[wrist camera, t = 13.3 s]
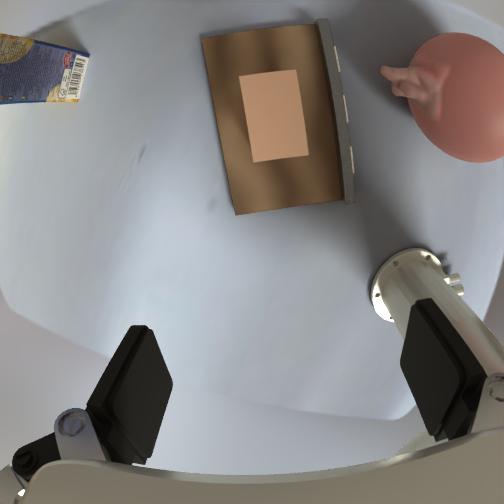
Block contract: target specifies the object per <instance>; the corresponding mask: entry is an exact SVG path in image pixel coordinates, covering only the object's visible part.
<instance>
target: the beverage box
mask: <svg viewBox="0 0 504 504" xmlns="http://www.w3.org/2000/svg"><path fill="white" fill-rule="evenodd" d="M89 57H90V54H87V53H83V52H80V51H76V50H73V49H69V48H65V47H62V46H58V45H54V44H50V43H46V42H41V41H37V40H32V39H28V38H23V37H18V36H12V35H6V34H0V105H1V104H14V103H32V102H79V97H80V92H81V88H82V84H83V80H84V76H85V72H86V68H87V64H88V60H89Z"/></svg>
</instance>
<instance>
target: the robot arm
mask: <svg viewBox="0 0 504 504" xmlns="http://www.w3.org/2000/svg"><path fill="white" fill-rule="evenodd" d="M459 281H460V276H459V274H458V273H455V274H451V275H449V276H447V275H446V274H445V273H444V272H443V270H442V266H441V264H440V261H439V260H438V259H437V257H436V256H435V255H433V254H432V253H431V252H429V251H428V250H425V249H422V248H410V249H406V250H403V251H400V252H398V253H397V254H395V255H393V256H392V257H391V258H389V259H388V260H387V261H386V262H385V263H384V264H383V265H382V266H381V268H380V269H379V271H378V272H377V274H376V276H375V278H374V280H373V283H372V286H371V302H372V304H373V307H374V309H375V310H376V312H377V313H378V314H379V316H381V317H382V318H384V319H385V320H388V321H392V322H394V323H395V325H396V326H397V328H398V330H399V332H400V333H401V335H402V337H403V339H404V345H403V350H402V354H401V358H400V366H401V369H402V371H403V374H404V376H405V378H406V380H407V383H408V385H409V387H410V390H411V392H412V394H413V397H414V399H415V401H416V404H417V406H418V408H419V411H420V414H421V416H422V418H423V421H424V423H425V426H426V429H424V430H423V431H422V432H420V433H419V434H418V435H416V436H415V437H414V438H412V439H411V440H410V441H408V442H407V443H406V444H405V445H404V446H403V447H402V448H401V449H400V450H399V452H398V453H397V455H396V457H392V458H388V459H383V460H379V461H375V462H370V463H365V464H360V465H354V466H348V467H342V468H335V469H328V470H321V471H313V472H303V473H291V474H274V475H215V474H199V473H186V472H176V471H168V470H160V469H152V468H145V467H138V466H133V465H132V463H137V464H143V465H145V463H146V460H147V458H150V457H151V456H152V453H153V449H154V446H155V442H156V439H157V436H158V433H159V430H160V426H161V423H162V420H163V416H164V413H165V410H166V406H167V404H168V400H169V397H170V394H171V391H172V387H173V382H172V378H171V376H170V373H169V371H168V369H167V366H166V364H165V361H164V359H163V356H162V354H161V351H160V349H159V346H158V343H157V341H156V338H155V335H154V333H153V331H152V329H149V328H148V327H147V326H146V325H132V326H131V327H130V328H129V330H128V331H127V333H126V335H125V336H124V338H123V340H122V341H121V343H120V345H119V347H118V348H117V350H116V352H115V353H114V355H113V357H112V359H111V360H110V362H109V364H108V366H107V367H106V369H105V371H104V373H103V375H102V377H101V378H100V380H99V382H98V384H97V386H96V388H95V389H94V391H93V393H92V395H91V397H90V398H89V400H88V402H87V404H86V405H87V407H86V409H85V410H83V409H80V408H72V409H68V410H66V411H64V412H63V413H62V414H60V415H59V416H58V418H57V419H56V421H55V424H54V432H53V433H51V434H49V435H47V436H45V437H43V438H41V439H39V440H36V441H34V442H32V443H29V444H27V445H25V446H23V447H21V448H19V449H18V450H17V451H16V453H15V454H14V456H13V460H12V467H11V466H10V465H7V466H6V467H5V468H3V469H2V470H1V471H0V504H504V346H503V345H502V343H501V342H500V341H499V340H498V339H497V338H496V337H495V335H494V334H493V333H492V332H491V331H490V330H489V329H488V327H487V326H486V325H485V324H484V323H483V322H482V321H481V320H480V318H479V317H478V316H477V315H476V314H475V313H474V311H473V310H472V309H471V308H470V307H469V306H468V305H467V304H466V303H465V301H464V300H463V299H462V298H461V297H460V296H462V295H463V293H464V288H463V286H462V284H458V285H454V286H450V285H449V284H450V283H456V282H459Z"/></svg>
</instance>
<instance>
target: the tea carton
mask: <svg viewBox="0 0 504 504" xmlns="http://www.w3.org/2000/svg"><path fill="white" fill-rule="evenodd" d="M239 79H240V85H241V91H242V97H243V103H244V109H245V115H246V120H247V126H248V132H249V138H250V145H251V151H252V157H253V162H260V161H267V160H274V159H282V158H290V157H298V156H306V155H309V152H308V145H307V137H306V130H305V123H304V116H303V109H302V103H301V96H300V90H299V84H298V78H297V72H296V69H295V70H284V71H275V72H267V73H259V74H252V75H245V76H239Z"/></svg>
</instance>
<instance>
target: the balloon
mask: <svg viewBox="0 0 504 504" xmlns="http://www.w3.org/2000/svg"><path fill="white" fill-rule="evenodd" d="M380 73H381V74H382V75H383V76H384V77H385V78H386V79H388V80H389V81H391V82H392V86H391V90H392V93H393V94H394V95H395V96H404V97H407V99H408V103H409V107H410V110H411V112H412V115H413V117H414V119H415V121H416V123H417V124H418V126H419V127H420V129H421V130H422V132H423V133H424V134H425V136H426V137H427V138H428V139H429V140H430V141H431V142H432V143H433V144H434V145H436V146H437V147H438V148H439V149H441V150H442V151H444V152H445V153H447V154H449V155H450V156H453V157H455V158H457V159H460V160H463V161H468V162H475V163H483V162H490V161H494V160H496V159H499V158H501V157H503V156H504V54H503V53H502V52H501V51H500V50H498V49H497V48H496V47H495V46H493V45H492V44H490V43H489V42H487V41H485V40H483V39H481V38H479V37H476V36H473V35H470V34H465V33H445V34H441V35H438V36H435V37H433V38H431V39H429V40H428V41H426V42H425V43H424V44H423V45H422V46H421V47H420V48H419V49H418V50H417V51H416V53H415V54H414V56H413V57H412V59H411V62H410V64H409V66H408V67H406V68H399V67H391V68H390V67H388V66H382V67H381V68H380Z"/></svg>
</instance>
